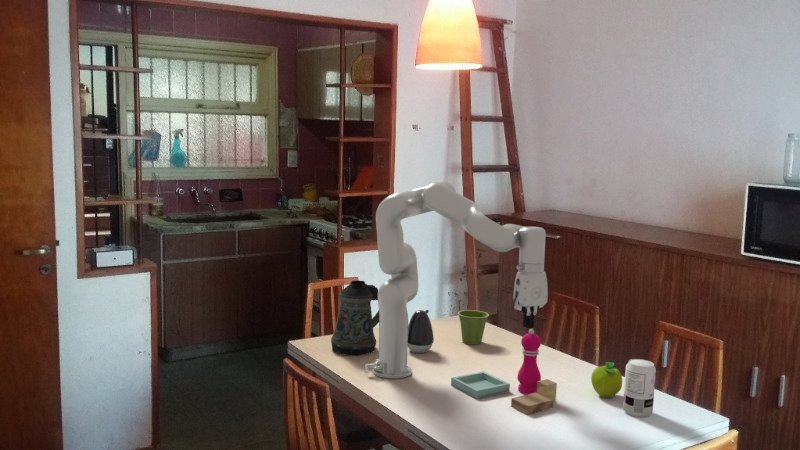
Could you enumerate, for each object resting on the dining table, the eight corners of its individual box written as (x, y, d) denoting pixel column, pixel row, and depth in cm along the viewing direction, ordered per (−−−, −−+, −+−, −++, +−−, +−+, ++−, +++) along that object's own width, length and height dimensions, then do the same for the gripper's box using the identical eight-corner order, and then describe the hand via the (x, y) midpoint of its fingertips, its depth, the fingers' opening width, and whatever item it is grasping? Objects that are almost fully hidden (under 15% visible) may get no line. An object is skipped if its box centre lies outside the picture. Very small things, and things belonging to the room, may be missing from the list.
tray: (476, 398, 216) (476, 390, 216) (451, 385, 227) (451, 377, 227) (509, 391, 223) (509, 383, 223) (483, 378, 234) (483, 371, 234)
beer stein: (321, 348, 261) (322, 281, 258) (358, 338, 276) (360, 274, 272) (353, 359, 250) (355, 289, 247) (391, 347, 265) (392, 281, 261)
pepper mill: (540, 396, 220) (543, 333, 217) (516, 394, 221) (519, 331, 218) (540, 388, 227) (543, 326, 224) (517, 386, 228) (520, 324, 225)
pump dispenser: (438, 350, 263) (440, 309, 261) (424, 357, 255) (425, 315, 253) (414, 345, 269) (416, 305, 267) (399, 351, 260) (401, 310, 258)
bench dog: (545, 404, 213) (546, 385, 212) (536, 400, 216) (537, 381, 216) (555, 402, 215) (556, 383, 214) (546, 398, 218) (547, 379, 218)
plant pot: (489, 347, 268) (490, 318, 267) (457, 346, 268) (458, 317, 267) (486, 338, 280) (487, 310, 279) (455, 337, 280) (456, 309, 279)
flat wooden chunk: (527, 416, 205) (528, 406, 205) (511, 408, 211) (511, 398, 210) (552, 409, 211) (553, 399, 210) (535, 401, 216) (536, 392, 216)
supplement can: (618, 407, 213) (621, 358, 211) (645, 407, 213) (649, 358, 211) (629, 418, 205) (633, 367, 203) (657, 418, 205) (661, 367, 203)
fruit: (621, 392, 225) (623, 361, 223) (620, 403, 216) (622, 371, 215) (591, 388, 228) (593, 358, 226) (589, 398, 219) (591, 367, 218)
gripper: (519, 272, 209) (516, 333, 211) (558, 268, 216) (555, 327, 219) (503, 267, 216) (501, 327, 218) (542, 264, 223) (539, 321, 225)
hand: (528, 327), depth 218 cm, fingers closed
